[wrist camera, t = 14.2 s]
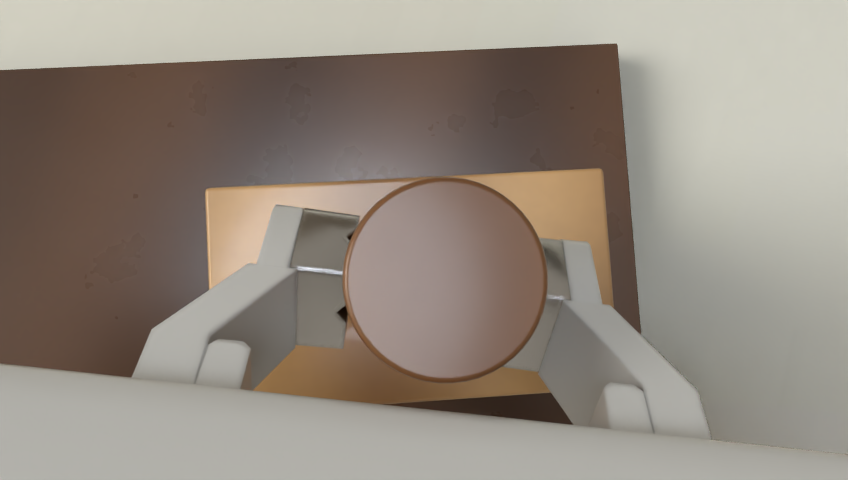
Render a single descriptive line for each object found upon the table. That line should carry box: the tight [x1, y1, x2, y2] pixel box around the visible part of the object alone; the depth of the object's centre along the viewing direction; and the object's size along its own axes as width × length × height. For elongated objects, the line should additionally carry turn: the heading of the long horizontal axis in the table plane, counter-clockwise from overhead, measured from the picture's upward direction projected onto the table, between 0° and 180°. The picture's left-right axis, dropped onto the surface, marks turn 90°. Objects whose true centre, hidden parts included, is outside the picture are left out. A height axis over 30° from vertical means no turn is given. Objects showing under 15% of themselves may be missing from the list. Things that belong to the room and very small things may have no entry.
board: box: [0, 44, 641, 425], centre depth 23 cm, size 22×14×1 cm, turn 94°
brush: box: [205, 168, 614, 404], centre depth 15 cm, size 9×5×10 cm, turn 94°
